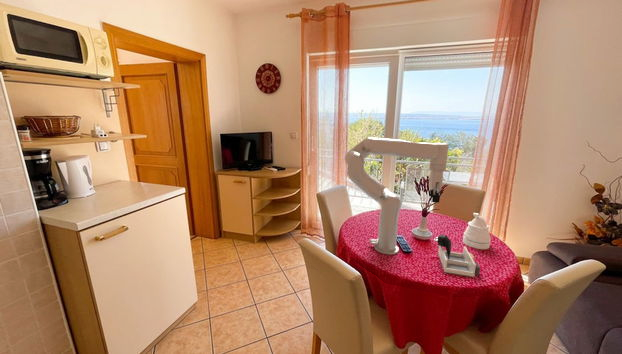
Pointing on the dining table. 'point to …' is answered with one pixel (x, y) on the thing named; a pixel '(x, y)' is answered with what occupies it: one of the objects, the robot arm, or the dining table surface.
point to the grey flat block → (477, 269)
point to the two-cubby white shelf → (457, 262)
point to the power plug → (444, 243)
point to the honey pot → (477, 233)
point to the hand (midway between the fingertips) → (434, 199)
